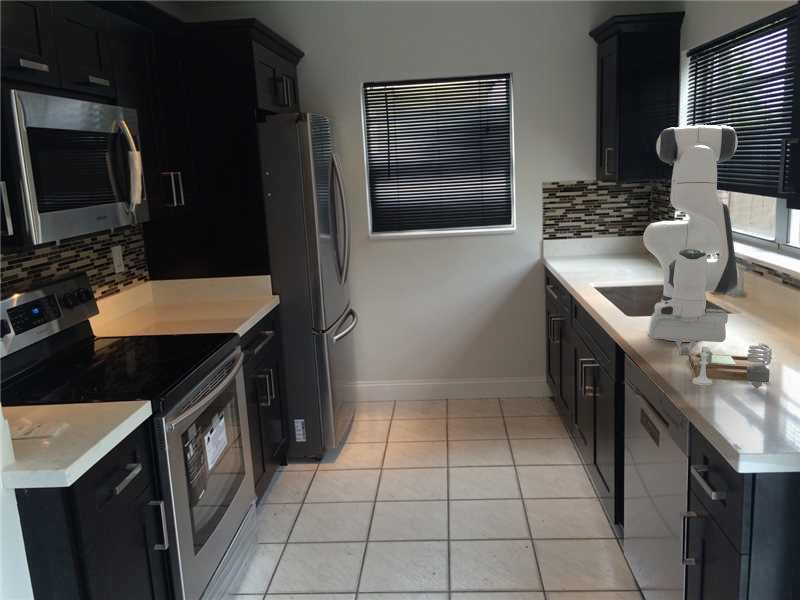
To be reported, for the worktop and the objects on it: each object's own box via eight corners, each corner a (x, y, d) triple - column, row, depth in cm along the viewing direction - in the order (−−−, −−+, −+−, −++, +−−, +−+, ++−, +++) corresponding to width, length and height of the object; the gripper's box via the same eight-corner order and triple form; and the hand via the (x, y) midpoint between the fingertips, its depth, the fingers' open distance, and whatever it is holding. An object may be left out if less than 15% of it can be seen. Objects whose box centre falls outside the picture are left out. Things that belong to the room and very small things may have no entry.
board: (688, 360, 199) (689, 350, 198) (755, 365, 194) (756, 354, 194) (696, 377, 184) (697, 366, 183) (768, 382, 179) (769, 371, 179)
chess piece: (706, 379, 183) (709, 344, 181) (715, 385, 178) (718, 349, 176) (688, 380, 182) (691, 344, 180) (697, 386, 178) (700, 349, 176)
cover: (700, 356, 194) (701, 346, 194) (730, 358, 192) (731, 347, 191) (704, 365, 187) (705, 353, 186) (735, 367, 184) (737, 355, 184)
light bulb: (758, 392, 172) (762, 347, 169) (739, 386, 177) (743, 342, 175) (773, 389, 174) (778, 344, 172) (754, 383, 179) (758, 339, 177)
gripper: (726, 306, 189) (722, 353, 192) (649, 303, 194) (646, 349, 197) (730, 311, 183) (726, 360, 186) (651, 308, 188) (648, 355, 191)
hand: (684, 354), depth 191 cm, fingers closed
